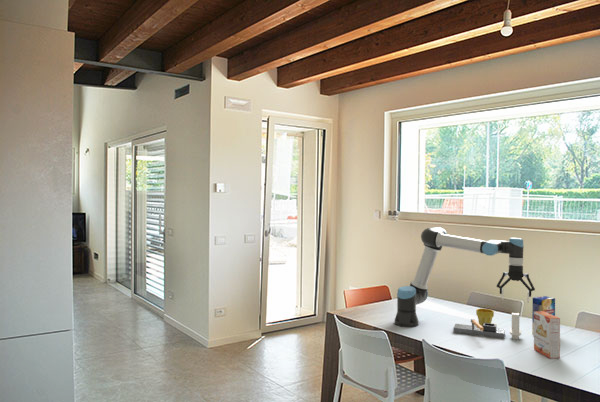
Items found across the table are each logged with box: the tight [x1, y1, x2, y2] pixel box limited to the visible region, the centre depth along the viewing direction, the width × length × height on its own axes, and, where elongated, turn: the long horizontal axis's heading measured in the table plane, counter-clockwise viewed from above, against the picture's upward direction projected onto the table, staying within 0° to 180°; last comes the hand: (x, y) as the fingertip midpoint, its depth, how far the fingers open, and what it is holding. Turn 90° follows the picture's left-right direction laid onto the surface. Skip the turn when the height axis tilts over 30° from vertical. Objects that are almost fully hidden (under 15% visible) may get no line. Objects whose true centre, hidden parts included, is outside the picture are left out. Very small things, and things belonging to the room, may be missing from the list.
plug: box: [509, 312, 522, 340], centre depth 271 cm, size 6×8×14 cm
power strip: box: [453, 322, 506, 340], centre depth 281 cm, size 28×10×6 cm, turn 64°
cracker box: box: [533, 311, 561, 360], centre depth 244 cm, size 14×6×21 cm, turn 5°
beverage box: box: [531, 295, 556, 336], centre depth 279 cm, size 7×11×22 cm, turn 116°
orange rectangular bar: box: [470, 318, 483, 330], centre depth 271 cm, size 18×3×6 cm, turn 176°
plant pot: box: [476, 308, 495, 327], centre depth 298 cm, size 10×10×10 cm
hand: (515, 301), depth 273 cm, fingers open, 13 cm apart
